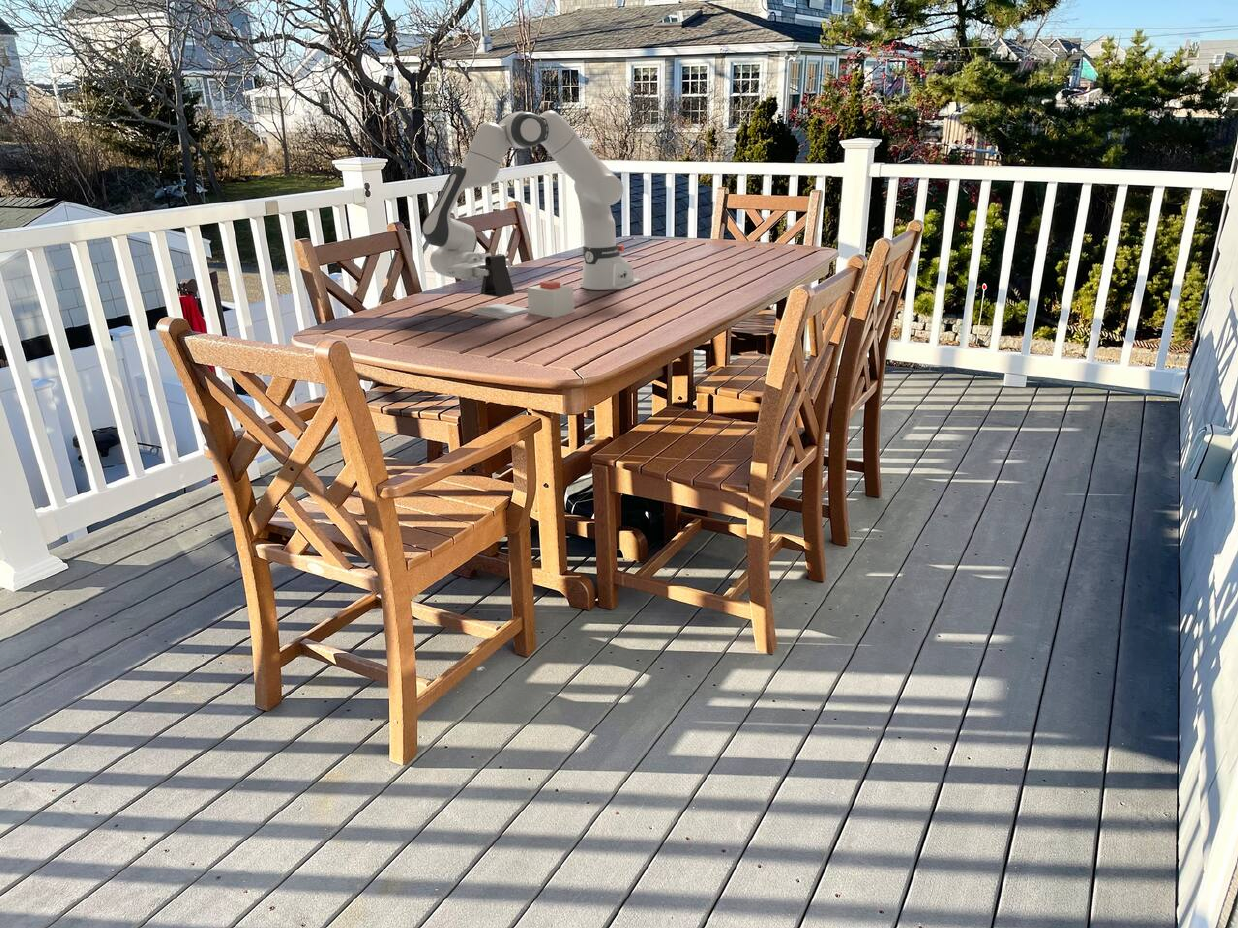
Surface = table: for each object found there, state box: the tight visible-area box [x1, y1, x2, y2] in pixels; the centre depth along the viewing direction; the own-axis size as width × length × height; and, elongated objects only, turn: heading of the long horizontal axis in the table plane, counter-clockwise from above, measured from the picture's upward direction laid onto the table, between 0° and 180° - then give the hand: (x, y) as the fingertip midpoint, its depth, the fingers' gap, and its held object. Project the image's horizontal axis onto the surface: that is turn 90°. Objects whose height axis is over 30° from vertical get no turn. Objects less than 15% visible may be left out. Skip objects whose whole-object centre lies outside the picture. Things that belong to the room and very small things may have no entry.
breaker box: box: [527, 284, 575, 319], centre depth 279 cm, size 9×11×8 cm
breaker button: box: [539, 280, 561, 290], centre depth 278 cm, size 4×5×3 cm
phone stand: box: [480, 253, 515, 298], centre depth 278 cm, size 9×6×12 cm, turn 52°
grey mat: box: [470, 302, 529, 320], centre depth 283 cm, size 12×14×1 cm
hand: (498, 271), depth 277 cm, fingers closed on phone stand, 6 cm apart
